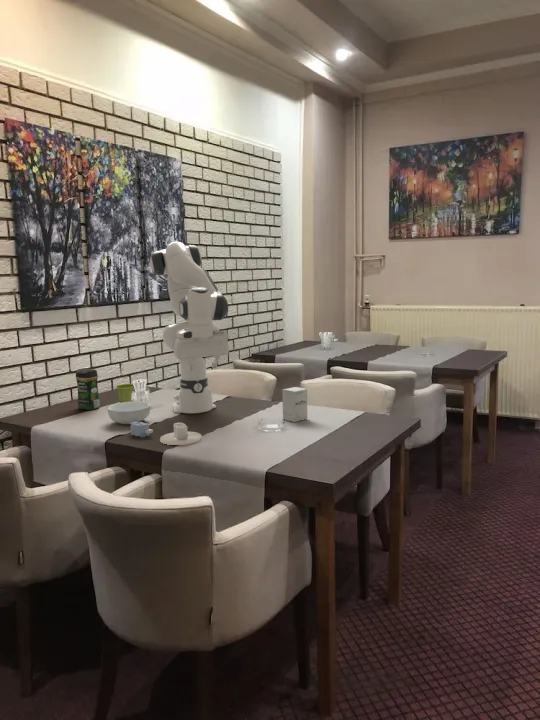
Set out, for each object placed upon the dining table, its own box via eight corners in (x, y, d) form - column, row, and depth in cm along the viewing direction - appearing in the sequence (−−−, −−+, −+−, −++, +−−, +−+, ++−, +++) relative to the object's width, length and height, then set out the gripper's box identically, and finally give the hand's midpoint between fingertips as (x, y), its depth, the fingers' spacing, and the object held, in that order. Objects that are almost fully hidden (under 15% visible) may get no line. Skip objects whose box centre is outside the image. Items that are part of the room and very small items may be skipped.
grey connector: (172, 435, 214) (172, 423, 213) (182, 433, 216) (182, 422, 215) (180, 442, 205) (179, 430, 204) (190, 440, 206) (189, 428, 206)
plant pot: (141, 402, 274) (139, 384, 273) (126, 407, 266) (125, 388, 265) (126, 400, 279) (125, 383, 278) (112, 405, 271) (110, 386, 270)
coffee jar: (75, 409, 265) (71, 369, 263) (88, 405, 272) (85, 366, 269) (89, 411, 260) (86, 370, 257) (103, 407, 267) (100, 367, 264)
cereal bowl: (100, 425, 235) (98, 408, 234) (127, 416, 249) (126, 400, 248) (132, 429, 227) (131, 412, 226) (159, 419, 242) (158, 403, 241)
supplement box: (294, 422, 230) (293, 391, 228) (282, 419, 236) (281, 389, 234) (308, 419, 235) (307, 388, 233) (295, 416, 240) (295, 386, 238)
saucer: (155, 437, 215) (155, 434, 215) (194, 431, 221) (194, 429, 221) (165, 448, 202) (165, 445, 201) (206, 441, 207) (206, 439, 207)
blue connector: (129, 434, 220) (128, 423, 219) (136, 432, 223) (136, 421, 222) (147, 438, 214) (146, 427, 214) (154, 436, 217) (154, 424, 217)
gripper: (225, 329, 220) (226, 364, 223) (172, 332, 212) (173, 369, 215) (230, 330, 214) (231, 367, 217) (176, 334, 207) (178, 372, 209)
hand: (202, 368), depth 216 cm, fingers open, 8 cm apart
